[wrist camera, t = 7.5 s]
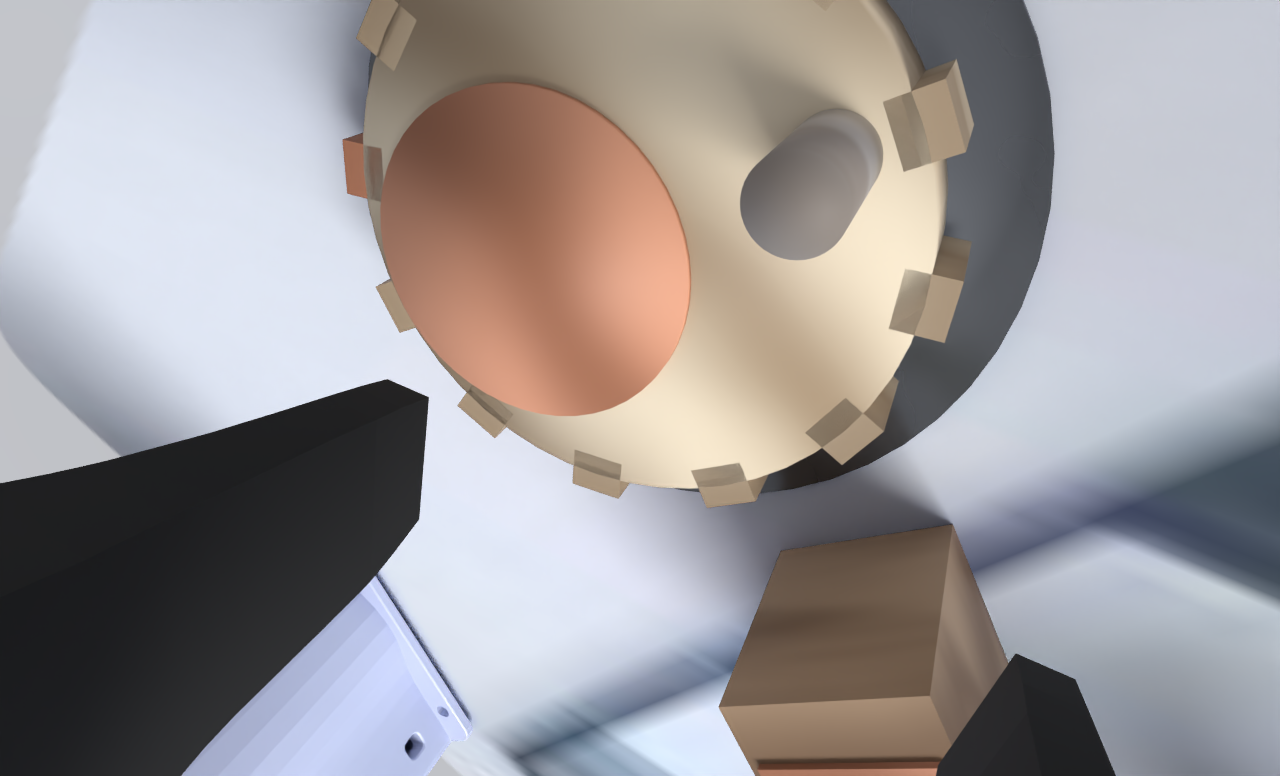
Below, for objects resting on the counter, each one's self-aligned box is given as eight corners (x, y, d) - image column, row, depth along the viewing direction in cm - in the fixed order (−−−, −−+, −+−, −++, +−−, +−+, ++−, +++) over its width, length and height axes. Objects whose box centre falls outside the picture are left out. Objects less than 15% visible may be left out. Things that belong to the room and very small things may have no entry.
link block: (1010, 668, 21) (1004, 873, 17) (842, 679, 24) (796, 862, 19) (952, 523, 20) (928, 702, 16) (781, 550, 22) (716, 712, 18)
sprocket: (706, 543, 22) (629, 688, 18) (333, 218, 22) (169, 289, 18) (1142, 176, 15) (1185, 280, 11) (580, -327, 14) (394, -425, 10)
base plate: (1149, 413, 17) (1159, 451, 16) (556, 528, 25) (532, 559, 24) (885, -472, 13) (869, -513, 11) (268, 13, 21) (220, 19, 20)
